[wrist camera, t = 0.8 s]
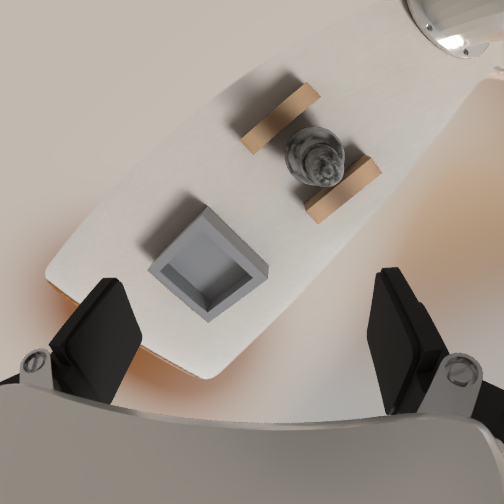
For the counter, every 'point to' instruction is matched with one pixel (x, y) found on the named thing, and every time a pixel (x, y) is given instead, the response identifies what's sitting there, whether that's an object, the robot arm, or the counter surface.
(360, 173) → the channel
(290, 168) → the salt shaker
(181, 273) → the square tray
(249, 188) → the counter surface
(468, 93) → the counter surface
